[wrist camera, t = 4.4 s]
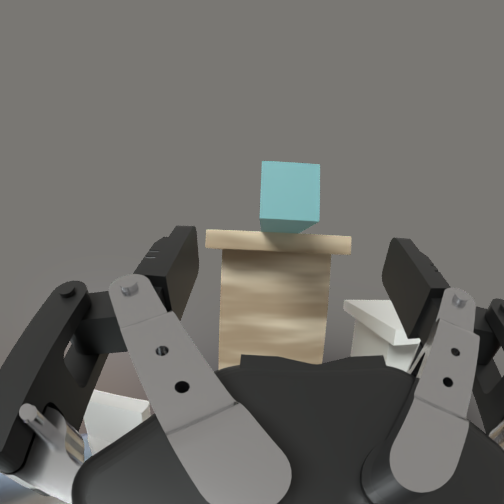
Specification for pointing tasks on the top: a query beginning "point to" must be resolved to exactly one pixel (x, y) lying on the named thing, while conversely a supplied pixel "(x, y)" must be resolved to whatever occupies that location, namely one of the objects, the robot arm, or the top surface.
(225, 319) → the birch stand
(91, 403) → the cylinder with rectangular tab
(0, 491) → the top surface
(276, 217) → the teal bar
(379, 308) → the white pedestal
